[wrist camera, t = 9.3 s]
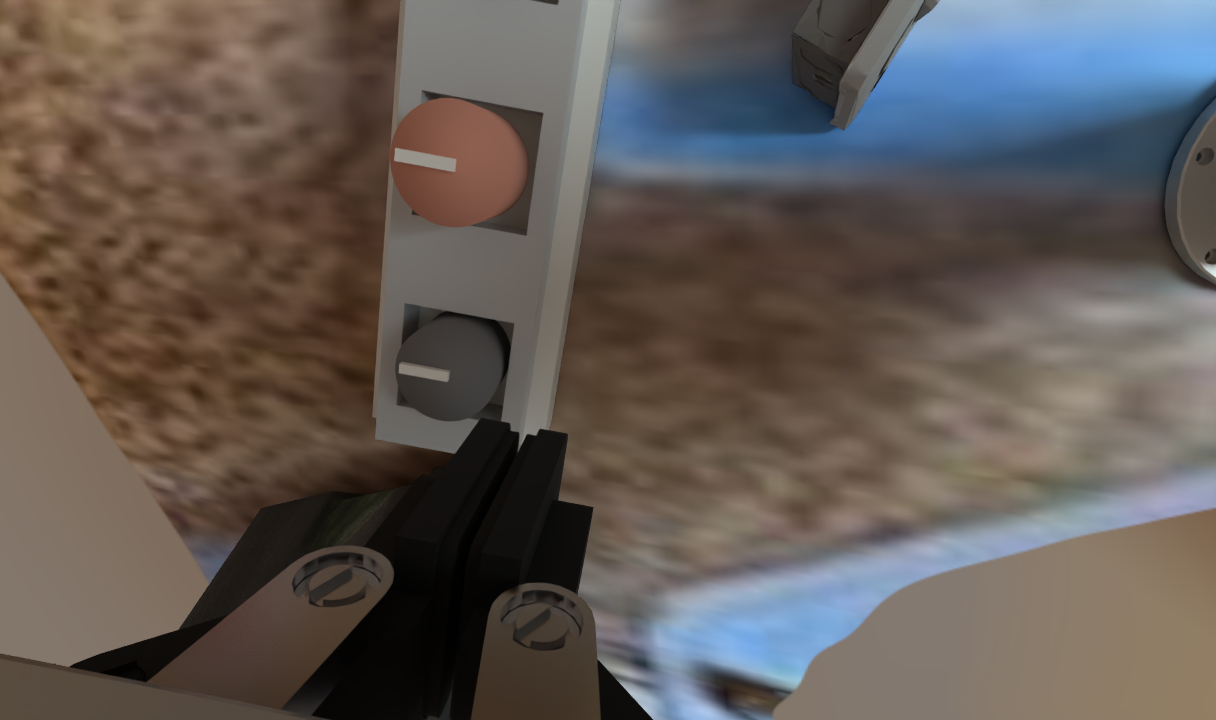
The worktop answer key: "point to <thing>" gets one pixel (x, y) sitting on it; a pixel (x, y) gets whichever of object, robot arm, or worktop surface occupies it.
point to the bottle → (295, 545)
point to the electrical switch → (850, 48)
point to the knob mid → (458, 162)
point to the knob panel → (522, 236)
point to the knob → (453, 365)
